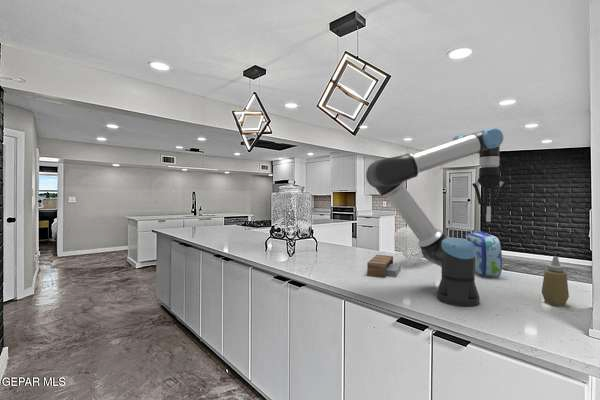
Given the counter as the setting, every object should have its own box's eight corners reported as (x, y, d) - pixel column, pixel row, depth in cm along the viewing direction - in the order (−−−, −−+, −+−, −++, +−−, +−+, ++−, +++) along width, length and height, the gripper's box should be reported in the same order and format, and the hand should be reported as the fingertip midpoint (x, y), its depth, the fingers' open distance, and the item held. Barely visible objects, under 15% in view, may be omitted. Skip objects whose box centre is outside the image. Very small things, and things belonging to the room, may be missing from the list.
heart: (414, 270, 169) (414, 229, 169) (389, 265, 181) (389, 226, 180) (438, 262, 188) (438, 225, 187) (414, 258, 199) (414, 223, 199)
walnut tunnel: (385, 277, 155) (385, 264, 155) (367, 275, 159) (367, 262, 159) (393, 267, 175) (393, 255, 175) (376, 266, 179) (376, 254, 179)
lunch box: (463, 266, 179) (463, 229, 178) (483, 267, 177) (484, 229, 176) (479, 278, 153) (480, 235, 153) (503, 279, 151) (504, 236, 151)
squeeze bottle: (539, 303, 119) (540, 256, 119) (543, 298, 125) (544, 253, 124) (567, 309, 113) (568, 259, 113) (570, 303, 119) (571, 256, 118)
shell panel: (396, 278, 156) (396, 270, 156) (371, 275, 162) (372, 268, 162) (400, 271, 170) (400, 264, 170) (378, 268, 175) (378, 262, 175)
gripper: (505, 167, 137) (504, 221, 138) (471, 168, 143) (470, 220, 144) (508, 165, 130) (507, 222, 131) (472, 167, 136) (471, 221, 137)
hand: (488, 221), depth 137 cm, fingers closed
